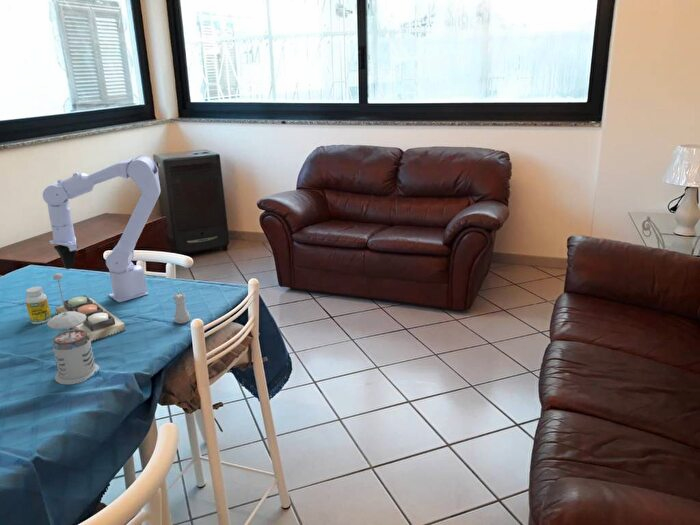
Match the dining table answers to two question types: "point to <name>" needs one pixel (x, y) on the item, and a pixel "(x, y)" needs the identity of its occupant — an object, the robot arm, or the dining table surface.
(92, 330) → the button board
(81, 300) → the button sage
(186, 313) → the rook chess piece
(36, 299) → the supplement bottle
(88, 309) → the button terracotta
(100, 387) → the dining table surface
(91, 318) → the button cream
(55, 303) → the dining table surface
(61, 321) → the french press
